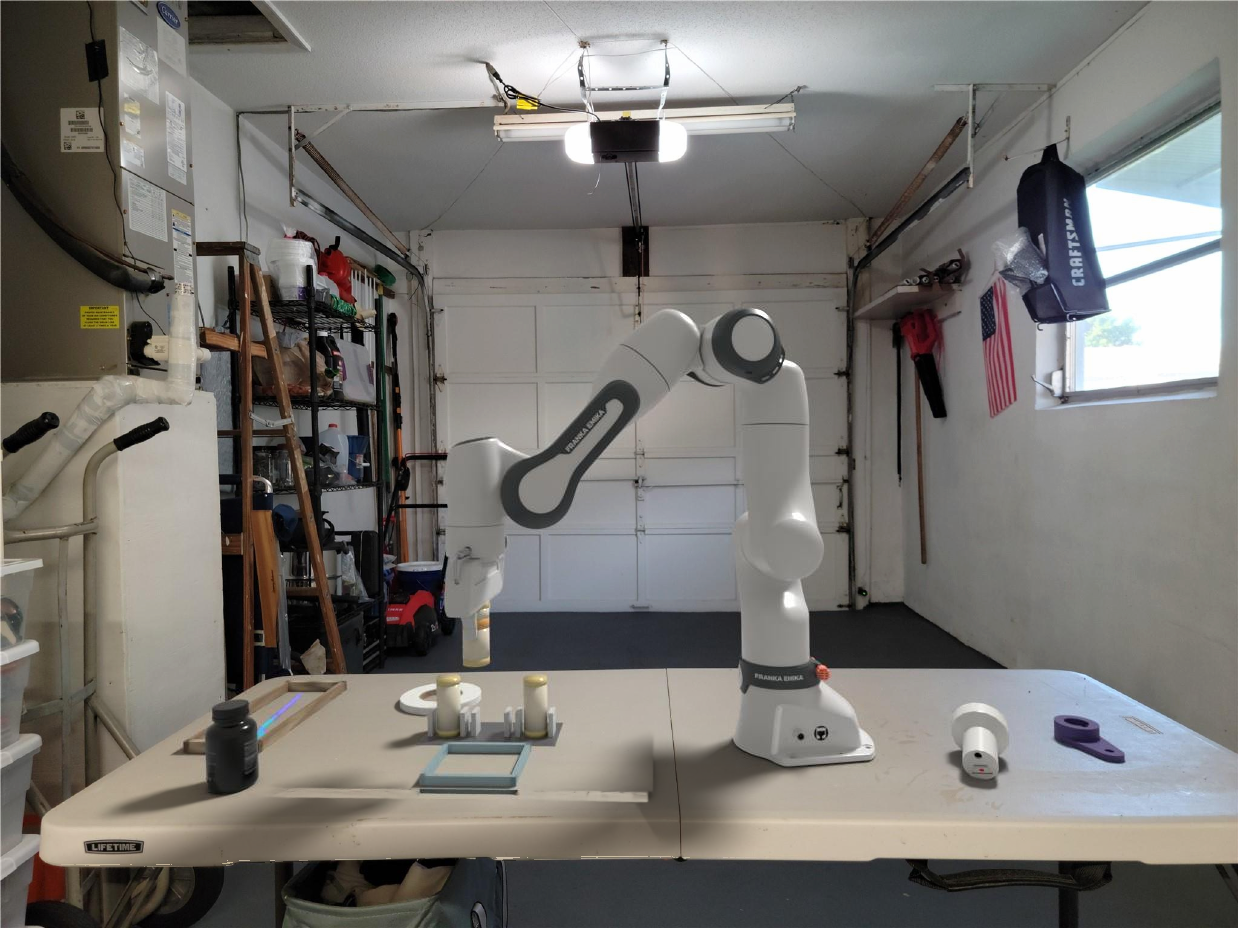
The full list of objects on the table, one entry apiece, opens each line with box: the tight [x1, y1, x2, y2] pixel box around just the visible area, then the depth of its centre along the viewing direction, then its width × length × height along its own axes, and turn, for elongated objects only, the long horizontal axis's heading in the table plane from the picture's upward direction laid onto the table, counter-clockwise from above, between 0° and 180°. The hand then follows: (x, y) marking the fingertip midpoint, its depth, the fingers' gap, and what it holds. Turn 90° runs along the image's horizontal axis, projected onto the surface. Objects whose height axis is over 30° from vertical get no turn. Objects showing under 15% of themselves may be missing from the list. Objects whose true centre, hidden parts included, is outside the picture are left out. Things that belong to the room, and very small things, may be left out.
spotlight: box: [951, 702, 1010, 780], centre depth 105 cm, size 8×11×8 cm
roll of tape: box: [399, 681, 482, 717], centre depth 134 cm, size 16×15×3 cm
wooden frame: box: [182, 680, 348, 754], centre depth 130 cm, size 13×32×2 cm, turn 177°
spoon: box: [257, 693, 303, 739], centre depth 129 cm, size 25×4×1 cm, turn 3°
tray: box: [418, 742, 532, 796], centre depth 104 cm, size 14×12×2 cm
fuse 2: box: [522, 673, 548, 738], centre depth 117 cm, size 4×4×10 cm
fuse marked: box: [462, 600, 491, 668], centre depth 105 cm, size 4×4×10 cm
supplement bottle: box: [204, 698, 260, 795], centre depth 102 cm, size 7×7×12 cm
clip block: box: [415, 706, 564, 747], centre depth 117 cm, size 23×10×5 cm, turn 87°
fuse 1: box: [435, 673, 462, 738], centre depth 118 cm, size 4×4×10 cm
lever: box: [1053, 714, 1126, 763], centre depth 111 cm, size 12×6×3 cm, turn 5°
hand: (476, 634), depth 105 cm, fingers closed on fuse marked, 4 cm apart
